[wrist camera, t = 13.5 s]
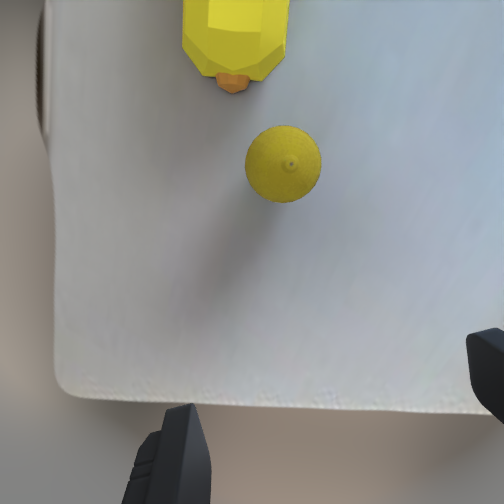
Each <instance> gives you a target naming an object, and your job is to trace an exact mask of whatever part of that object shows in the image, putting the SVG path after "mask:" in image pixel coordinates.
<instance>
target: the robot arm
mask: <svg viewBox="0 0 504 504" xmlns="http://www.w3.org/2000/svg"><path fill="white" fill-rule="evenodd" d="M466 346H467V355H468V363H469V372H470V380H471V385H472V389H473V391H474V393H475V395H476V397H477V399H478V400H479V402H480V403H481V404H482V405H483V406H484V407H485V408H486V409H487V410H489V411H490V412H491V413H492V414H493V415H494V416H495V417H496V418H497V419H499V420H500V421H501V422H502V423H503V424H504V331H502V330H501V329H498V328H491V329H487V330H484V331H480V332H476V333H472V334H469V335H468V336H467V338H466ZM210 495H211V461H210V455H209V450H208V447H207V443H206V440H205V437H204V434H203V430H202V427H201V423H200V420H199V417H198V413H197V410H196V407H195V405H194V404H193V403H190V404H187V405H183V406H179V407H175V408H171V409H167V410H166V413H165V417H164V421H163V425H162V429H161V430H160V431H156V432H153V433H150V434H149V436H148V437H147V438H146V440H145V441H144V442H143V444H142V445H141V446H140V448H139V450H138V453H137V456H136V459H135V462H134V467H133V469H132V472H131V475H130V481H129V482H128V484H127V488H126V491H125V494H124V497H123V500H122V504H210Z"/></svg>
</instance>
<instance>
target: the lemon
mask: <svg viewBox="0 0 504 504" xmlns="http://www.w3.org/2000/svg"><path fill="white" fill-rule="evenodd" d="M245 170H246V175H247V178H248V180H249V183H250V185H251V186H252V188H253V189H254V190H255V191H256V192H257V193H258V194H259V195H260V196H262V197H263V198H265V199H267V200H270V201H272V202H278V203H287V202H293V201H295V200H298V199H300V198H302V197H303V196H305V195H306V194H307V193H309V192H310V191H311V189H312V188H313V187H314V186H315V184H316V182H317V180H318V178H319V175H320V171H321V155H320V152H319V148H318V147H317V145H316V143H315V141H314V140H313V139H312V138H311V137H310V136H309V135H308V134H307V133H306V132H304V131H302V130H301V129H299V128H296V127H292V126H276V127H272V128H269V129H267V130H266V131H264V132H262V133H260V134H259V135H258V136H257V137H256V138H255V139H254V140H253V142H252V144H251V145H250V147H249V149H248V152H247V155H246V160H245Z"/></svg>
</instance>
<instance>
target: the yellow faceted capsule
mask: <svg viewBox="0 0 504 504" xmlns="http://www.w3.org/2000/svg"><path fill="white" fill-rule="evenodd" d="M289 3H290V0H183V36H182V48H183V49H184V51H185V52H186V53H187V55H188V56H189V58H190V59H191V60H192V62H193V63H194V64H195V66H196V67H197V69H198V70H199V71H200V73H201V74H202V75H203V76H211V77H216V79H217V83H218V86H219V87H221V88H223V89H224V90H226V91H228V92H230V93H235V92H238V91H241V90H244V89H246V88H247V85H248V83H249V81H250V80H255V81H263V79H264V78H265V77H266V76H267V75H268V74H269V73H270V72H271V71H272V70H273V69H274V68H275V67H276V66H277V65H278V64H279V63H280V62H281V61H282V59H283V58H284V57H285V48H286V36H287V25H288V14H289Z"/></svg>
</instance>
